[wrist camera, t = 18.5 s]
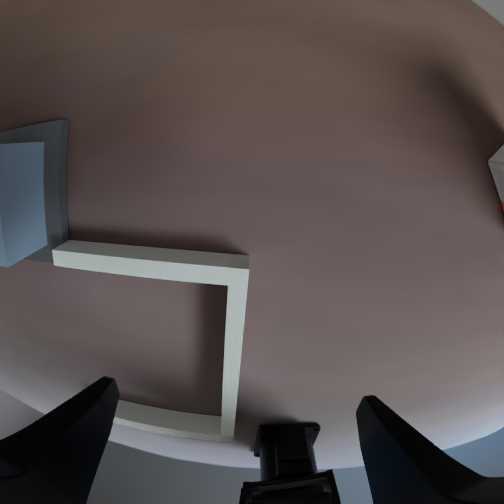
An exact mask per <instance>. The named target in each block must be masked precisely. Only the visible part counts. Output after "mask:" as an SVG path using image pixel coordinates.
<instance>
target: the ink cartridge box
mask: <svg viewBox="0 0 504 504" xmlns="http://www.w3.org/2000/svg"><path fill="white" fill-rule="evenodd" d="M488 165H489V167H490V170H491V173H492V176H493V179H494V182H495V185H496V188H497V191H498V194H499V197H500V201H501V205H502V208H503V212H504V144H503V145H502V147H501V148H500V149H499V150H498V151H497V152H496V153H495V154H494V155H493V156H492V157H491V158H490V159H489V160H488Z"/></svg>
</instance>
